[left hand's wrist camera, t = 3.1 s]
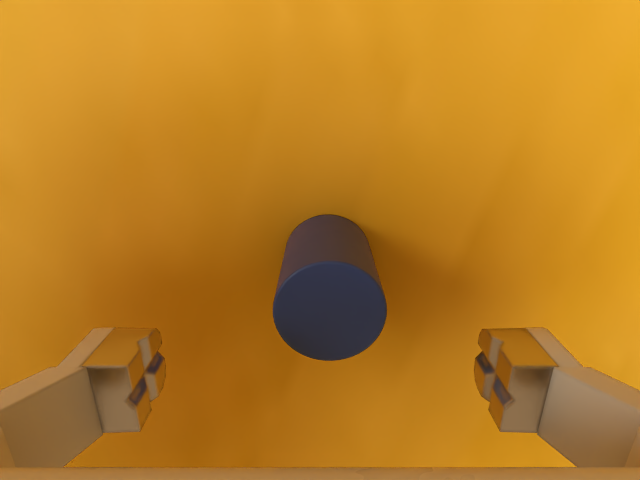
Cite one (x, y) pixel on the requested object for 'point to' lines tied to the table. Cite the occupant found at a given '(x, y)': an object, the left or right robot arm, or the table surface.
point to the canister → (329, 290)
